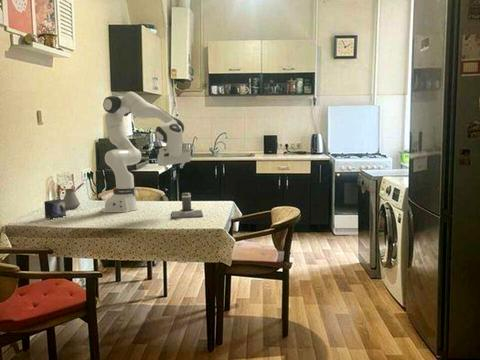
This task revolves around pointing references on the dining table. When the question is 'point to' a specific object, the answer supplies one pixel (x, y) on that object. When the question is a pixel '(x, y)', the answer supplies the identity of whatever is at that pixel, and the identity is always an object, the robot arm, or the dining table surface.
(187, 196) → the grey peg
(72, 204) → the coffee pot
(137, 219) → the dining table surface
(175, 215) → the mount plate
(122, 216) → the dining table surface
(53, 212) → the small box
